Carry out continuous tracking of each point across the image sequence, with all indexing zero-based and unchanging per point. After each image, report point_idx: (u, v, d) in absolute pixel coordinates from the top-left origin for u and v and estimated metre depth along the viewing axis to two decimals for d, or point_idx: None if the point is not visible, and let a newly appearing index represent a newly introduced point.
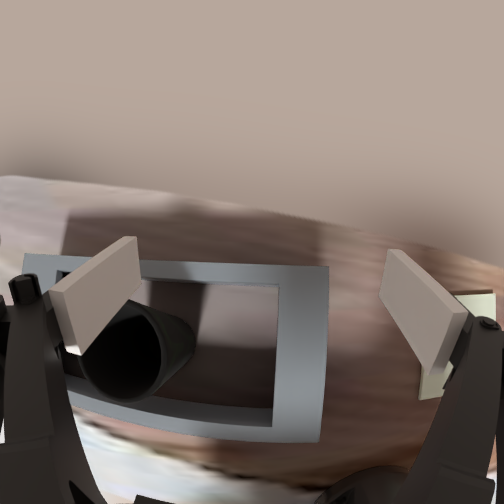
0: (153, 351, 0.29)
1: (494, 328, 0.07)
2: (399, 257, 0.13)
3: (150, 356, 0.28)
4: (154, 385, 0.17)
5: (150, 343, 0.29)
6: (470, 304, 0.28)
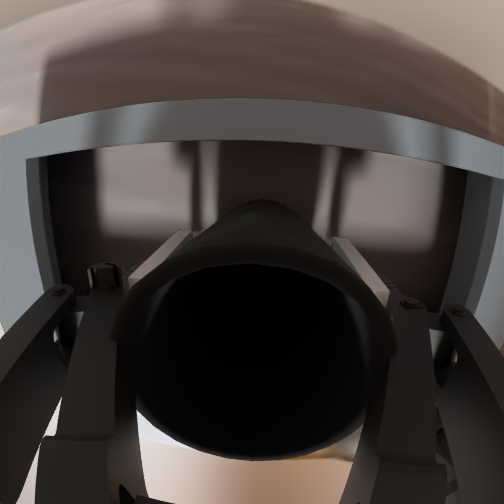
0: (232, 265, 0.18)
1: (417, 307, 0.08)
2: (340, 244, 0.14)
3: (230, 277, 0.18)
4: (347, 432, 0.07)
5: None
6: None
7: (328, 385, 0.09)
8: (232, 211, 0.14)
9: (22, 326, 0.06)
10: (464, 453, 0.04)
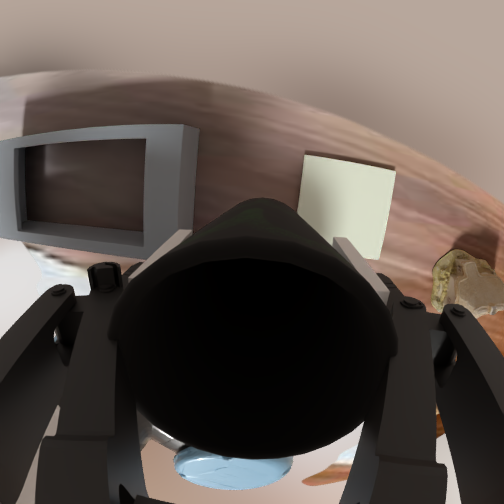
0: (232, 263, 0.18)
1: (417, 307, 0.08)
2: (340, 244, 0.14)
3: (230, 275, 0.17)
4: (346, 430, 0.07)
5: None
6: (359, 173, 0.33)
7: (327, 383, 0.09)
8: (231, 209, 0.14)
9: (22, 326, 0.06)
10: (464, 453, 0.04)
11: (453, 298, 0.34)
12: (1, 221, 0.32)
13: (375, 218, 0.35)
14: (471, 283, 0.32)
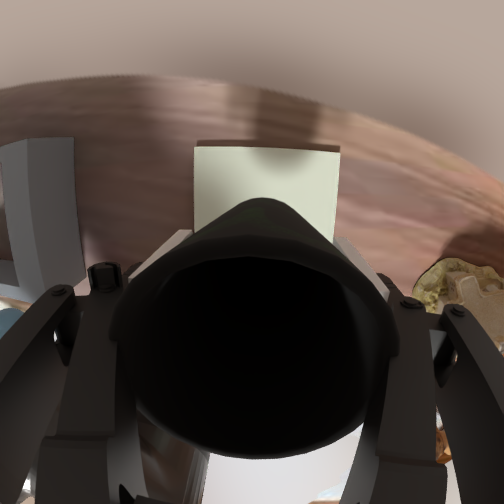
0: (232, 263, 0.18)
1: (417, 307, 0.08)
2: (340, 244, 0.14)
3: (230, 274, 0.17)
4: (348, 429, 0.07)
5: None
6: (279, 162, 0.23)
7: (329, 382, 0.09)
8: (232, 208, 0.14)
9: (22, 326, 0.06)
10: (464, 453, 0.04)
11: None
12: None
13: None
14: (469, 310, 0.21)
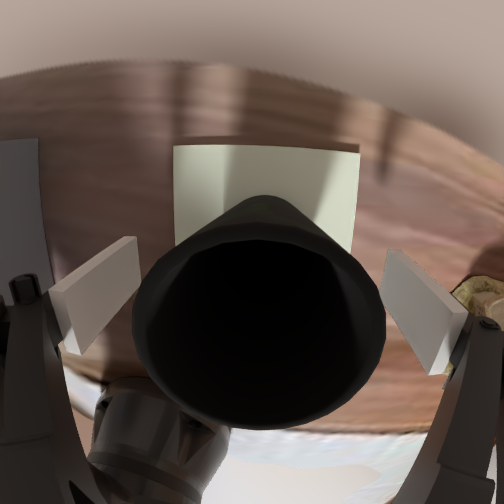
0: (236, 256, 0.19)
1: (494, 328, 0.07)
2: (399, 257, 0.13)
3: (235, 266, 0.19)
4: (343, 400, 0.09)
5: (230, 244, 0.19)
6: (282, 165, 0.18)
7: (325, 359, 0.11)
8: (237, 204, 0.15)
9: None
10: None
11: None
12: None
13: None
14: None
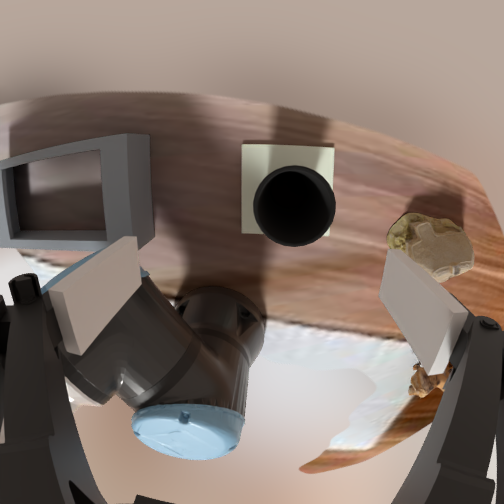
0: (274, 199, 0.38)
1: (494, 328, 0.07)
2: (399, 257, 0.13)
3: (274, 203, 0.37)
4: (325, 228, 0.27)
5: (271, 193, 0.38)
6: (296, 154, 0.36)
7: (318, 222, 0.29)
8: None
9: None
10: None
11: None
12: None
13: None
14: (426, 245, 0.33)
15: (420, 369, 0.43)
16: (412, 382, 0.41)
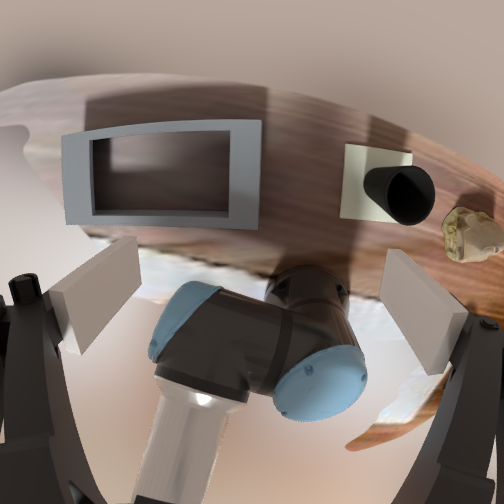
0: None
1: (494, 328, 0.07)
2: (399, 257, 0.13)
3: None
4: (428, 213, 0.33)
5: None
6: (386, 156, 0.42)
7: (418, 209, 0.35)
8: (379, 168, 0.39)
9: None
10: None
11: (462, 246, 0.42)
12: (71, 208, 0.41)
13: None
14: (474, 231, 0.39)
15: None
16: None
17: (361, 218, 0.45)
